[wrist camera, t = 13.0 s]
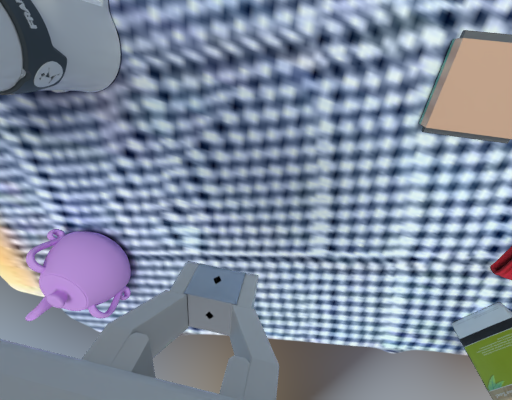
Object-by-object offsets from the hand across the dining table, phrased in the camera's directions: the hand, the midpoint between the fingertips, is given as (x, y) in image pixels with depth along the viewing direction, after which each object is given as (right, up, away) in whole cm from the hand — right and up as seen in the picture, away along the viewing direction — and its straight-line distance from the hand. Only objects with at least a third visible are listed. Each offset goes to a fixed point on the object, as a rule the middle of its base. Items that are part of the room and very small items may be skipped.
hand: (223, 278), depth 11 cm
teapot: (-36, -11, +52) cm, 64 cm away
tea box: (+50, -23, +42) cm, 69 cm away
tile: (+24, +18, +22) cm, 37 cm away
